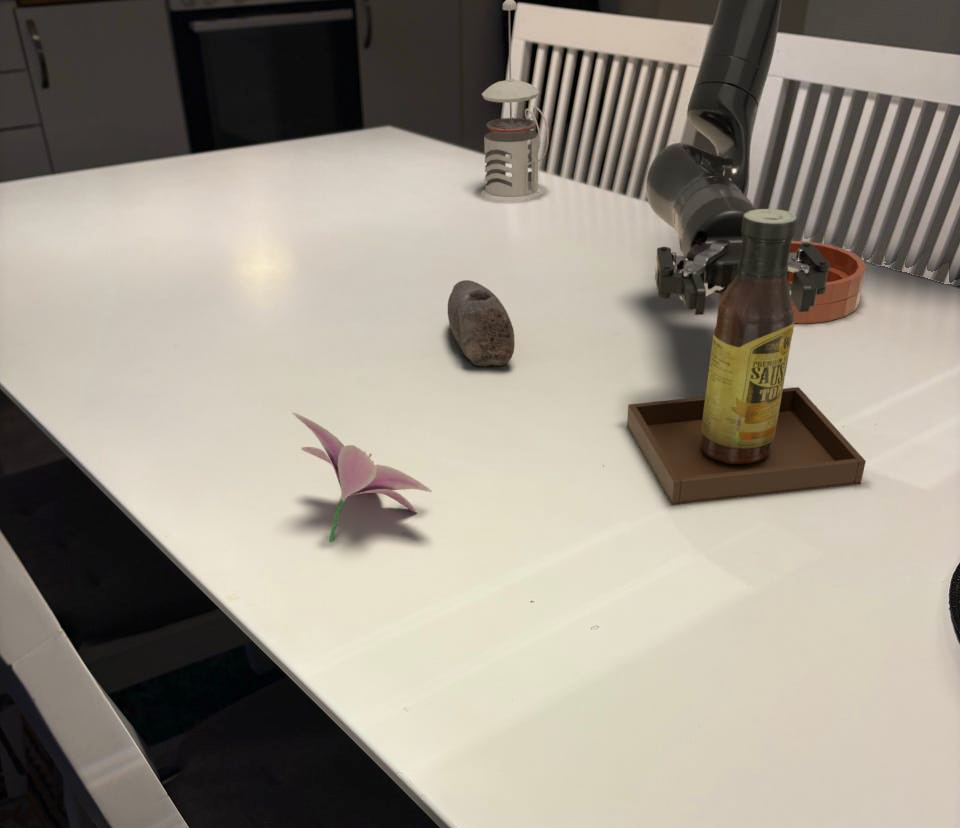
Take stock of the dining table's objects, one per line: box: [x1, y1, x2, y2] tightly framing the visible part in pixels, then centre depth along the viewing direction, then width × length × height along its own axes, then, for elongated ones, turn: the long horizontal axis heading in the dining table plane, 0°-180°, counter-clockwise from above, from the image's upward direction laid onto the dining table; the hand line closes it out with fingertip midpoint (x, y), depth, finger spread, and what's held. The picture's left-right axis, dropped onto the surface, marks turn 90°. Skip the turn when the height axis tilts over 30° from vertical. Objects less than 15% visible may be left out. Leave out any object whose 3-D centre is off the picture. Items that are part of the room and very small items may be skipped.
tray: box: [626, 386, 867, 506], centre depth 90 cm, size 16×14×2 cm
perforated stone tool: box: [447, 279, 516, 368], centre depth 109 cm, size 15×5×7 cm, turn 13°
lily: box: [291, 412, 433, 543], centre depth 82 cm, size 12×12×10 cm
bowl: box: [788, 240, 867, 324], centre depth 117 cm, size 15×15×4 cm
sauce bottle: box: [701, 208, 798, 464], centre depth 85 cm, size 6×6×20 cm
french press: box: [480, 0, 550, 203], centre depth 146 cm, size 10×12×25 cm
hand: (753, 302), depth 85 cm, fingers open, 8 cm apart
